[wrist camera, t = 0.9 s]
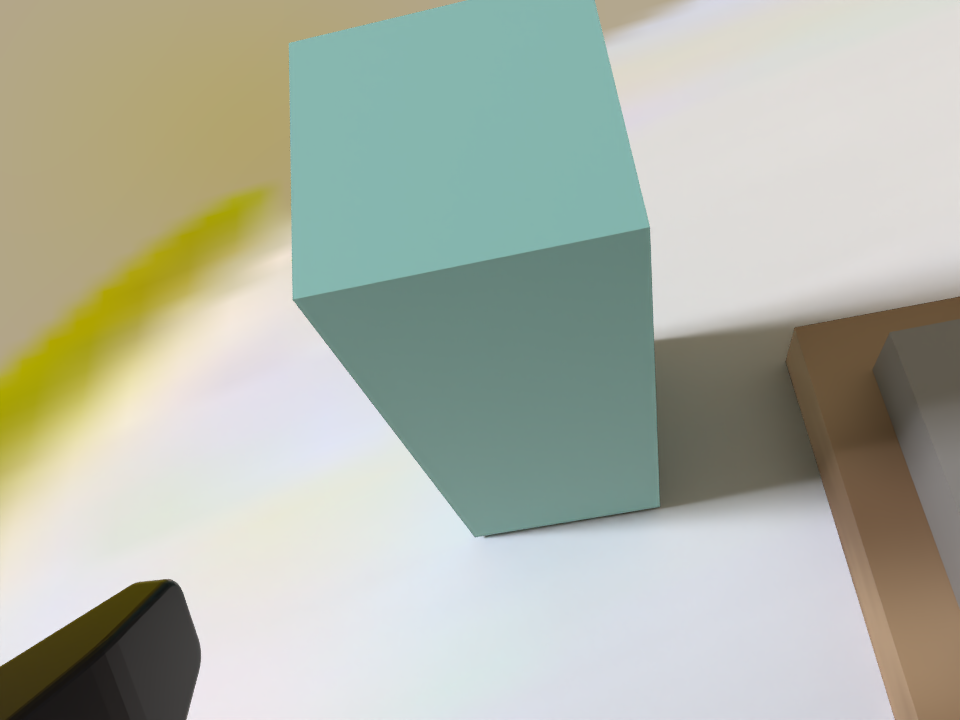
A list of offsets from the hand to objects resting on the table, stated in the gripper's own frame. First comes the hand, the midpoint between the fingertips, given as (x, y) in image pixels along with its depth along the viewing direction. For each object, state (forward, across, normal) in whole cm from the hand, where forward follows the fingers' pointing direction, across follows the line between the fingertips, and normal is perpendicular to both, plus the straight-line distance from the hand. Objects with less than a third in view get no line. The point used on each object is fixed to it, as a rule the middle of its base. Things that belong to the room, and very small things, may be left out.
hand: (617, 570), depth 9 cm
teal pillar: (+15, +1, +6) cm, 16 cm away
